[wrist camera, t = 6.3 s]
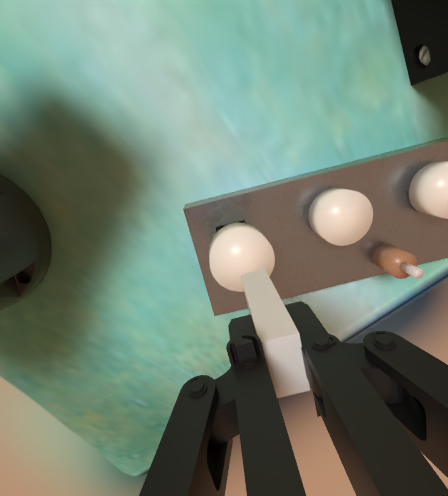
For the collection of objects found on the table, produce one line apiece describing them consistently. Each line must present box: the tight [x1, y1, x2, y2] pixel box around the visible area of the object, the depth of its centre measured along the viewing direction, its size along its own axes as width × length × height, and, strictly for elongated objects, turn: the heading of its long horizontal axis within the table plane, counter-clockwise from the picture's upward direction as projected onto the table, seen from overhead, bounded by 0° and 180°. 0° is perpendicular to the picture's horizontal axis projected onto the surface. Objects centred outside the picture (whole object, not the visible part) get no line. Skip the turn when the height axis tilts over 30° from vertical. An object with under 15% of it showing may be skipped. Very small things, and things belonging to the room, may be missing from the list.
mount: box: [184, 137, 448, 316], centre depth 30 cm, size 28×12×3 cm, turn 104°
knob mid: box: [308, 188, 373, 246], centre depth 28 cm, size 5×5×6 cm
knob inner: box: [209, 223, 275, 292], centre depth 24 cm, size 5×5×6 cm
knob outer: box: [409, 161, 448, 219], centre depth 28 cm, size 5×5×6 cm
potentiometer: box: [373, 244, 424, 279], centre depth 28 cm, size 3×3×5 cm
